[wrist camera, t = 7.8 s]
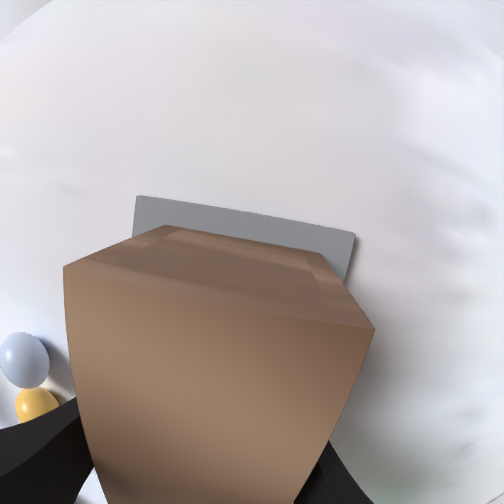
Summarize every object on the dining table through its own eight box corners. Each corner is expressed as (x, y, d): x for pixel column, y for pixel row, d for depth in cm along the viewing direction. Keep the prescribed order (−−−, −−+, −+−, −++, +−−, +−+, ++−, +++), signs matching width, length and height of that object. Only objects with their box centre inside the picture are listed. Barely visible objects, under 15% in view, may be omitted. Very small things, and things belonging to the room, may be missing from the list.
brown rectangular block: (254, 477, 13) (247, 565, 7) (155, 457, 13) (123, 538, 8) (320, 252, 11) (375, 329, 5) (164, 224, 11) (63, 266, 5)
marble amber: (73, 422, 14) (51, 452, 11) (38, 405, 14) (14, 430, 11) (65, 388, 13) (37, 417, 10) (28, 370, 13) (0, 394, 10)
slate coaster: (271, 484, 14) (270, 489, 14) (139, 457, 14) (137, 461, 14) (352, 232, 11) (355, 234, 10) (140, 195, 11) (136, 195, 10)
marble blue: (63, 378, 13) (34, 408, 10) (26, 360, 13) (-3, 385, 10) (55, 333, 13) (21, 360, 10) (18, 316, 13) (-17, 338, 10)
